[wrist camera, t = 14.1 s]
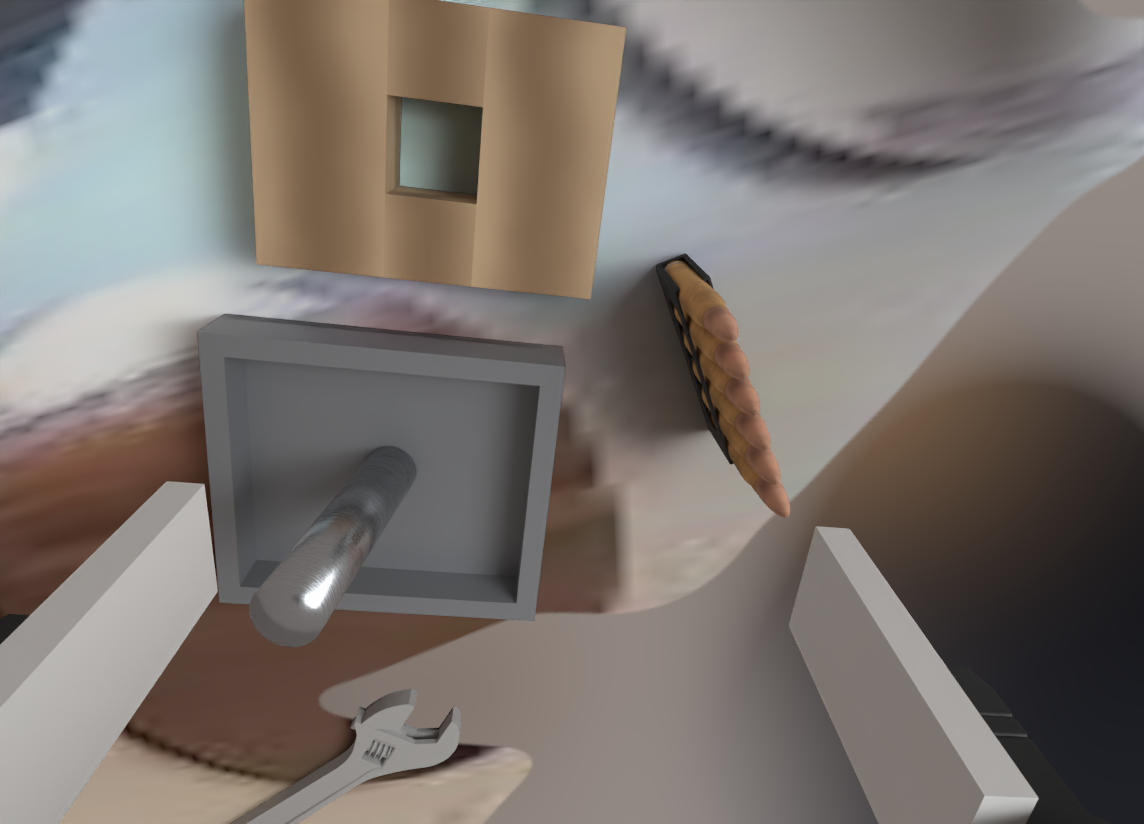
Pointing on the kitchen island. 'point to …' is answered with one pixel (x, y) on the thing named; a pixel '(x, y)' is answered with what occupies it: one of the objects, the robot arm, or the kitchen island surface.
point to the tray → (369, 421)
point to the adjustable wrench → (364, 758)
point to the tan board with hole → (373, 138)
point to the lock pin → (332, 551)
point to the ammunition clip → (722, 377)
